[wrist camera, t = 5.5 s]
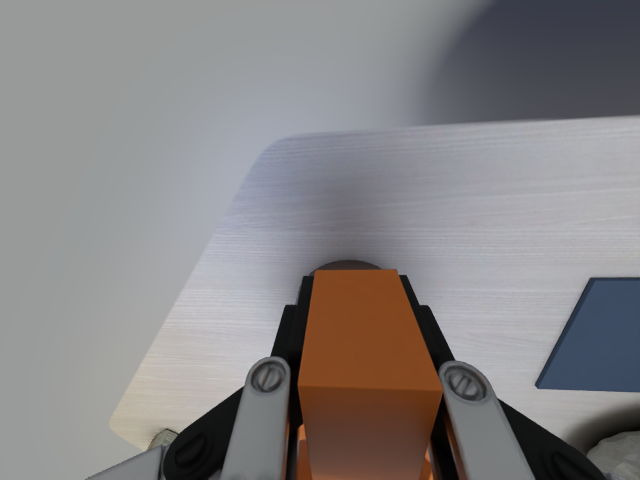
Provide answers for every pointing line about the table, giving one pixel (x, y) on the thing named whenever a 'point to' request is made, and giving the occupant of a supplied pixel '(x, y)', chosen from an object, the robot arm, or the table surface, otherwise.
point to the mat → (599, 341)
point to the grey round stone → (618, 455)
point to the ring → (365, 381)
